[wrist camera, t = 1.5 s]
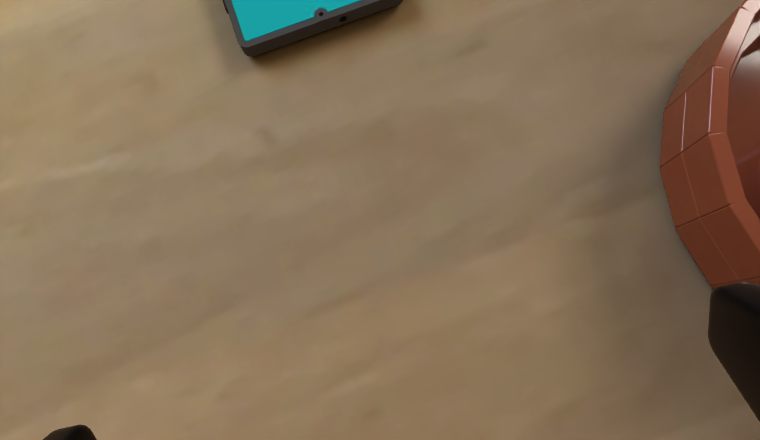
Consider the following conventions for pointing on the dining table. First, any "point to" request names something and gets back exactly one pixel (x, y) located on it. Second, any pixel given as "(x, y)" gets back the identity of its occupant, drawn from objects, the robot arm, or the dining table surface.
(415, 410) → the dining table surface
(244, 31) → the smartphone
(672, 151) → the terracotta bowl
